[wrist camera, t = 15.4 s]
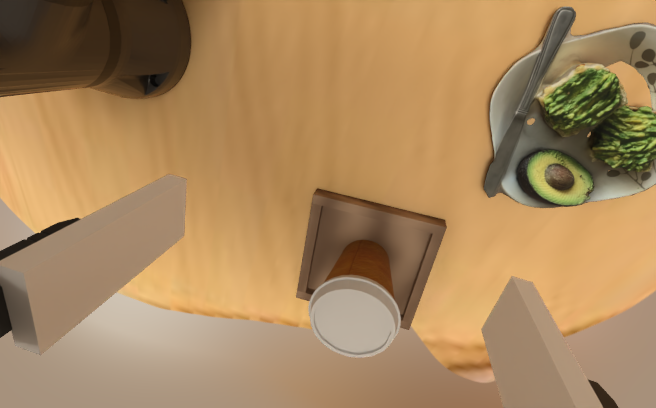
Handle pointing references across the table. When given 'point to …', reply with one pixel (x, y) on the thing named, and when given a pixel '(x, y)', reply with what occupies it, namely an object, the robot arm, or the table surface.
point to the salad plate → (574, 119)
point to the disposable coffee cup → (356, 303)
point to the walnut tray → (380, 227)
